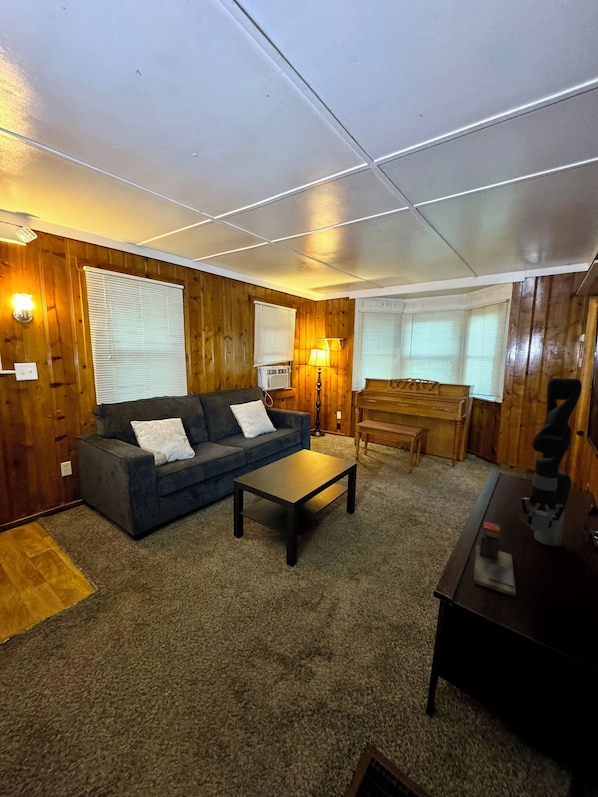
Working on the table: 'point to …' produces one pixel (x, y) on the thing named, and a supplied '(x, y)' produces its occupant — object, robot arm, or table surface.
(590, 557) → the table surface
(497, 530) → the block
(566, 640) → the table surface
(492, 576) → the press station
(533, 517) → the block
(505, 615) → the table surface
